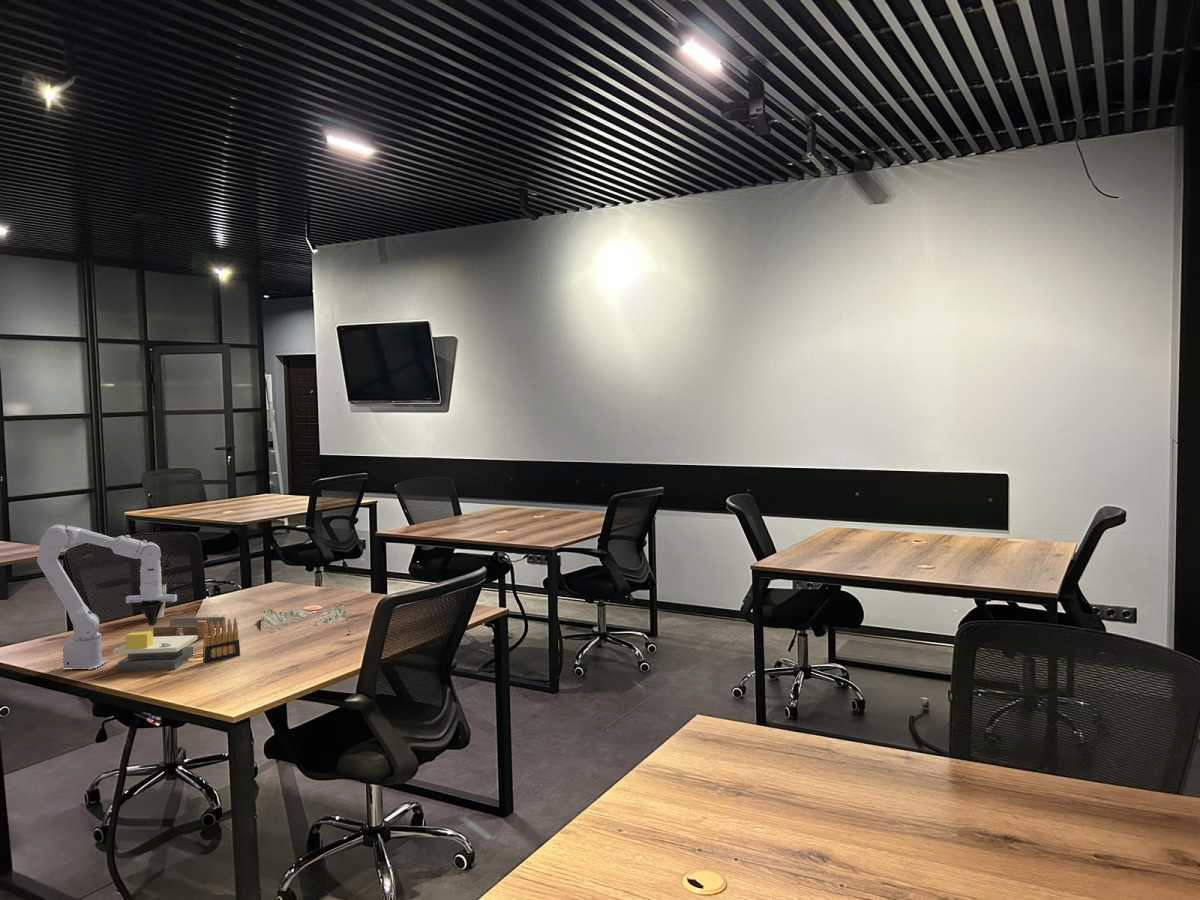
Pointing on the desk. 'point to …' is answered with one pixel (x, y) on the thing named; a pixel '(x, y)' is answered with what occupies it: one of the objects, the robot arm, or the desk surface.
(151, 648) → the plate
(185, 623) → the skate ramp
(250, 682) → the desk surface
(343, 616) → the topographic map model
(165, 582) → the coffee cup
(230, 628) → the ammunition clip
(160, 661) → the leveling base
